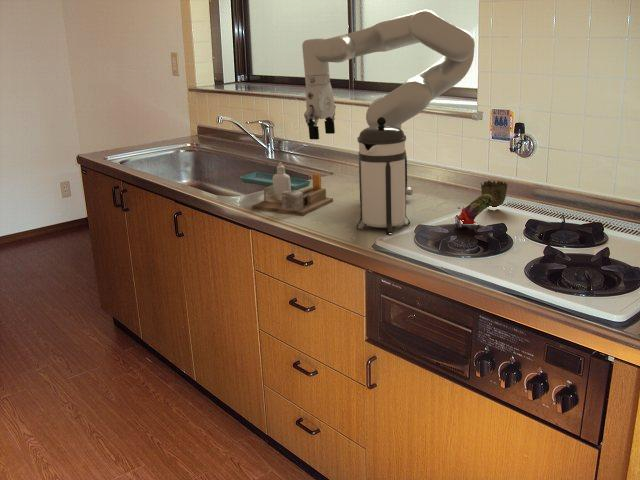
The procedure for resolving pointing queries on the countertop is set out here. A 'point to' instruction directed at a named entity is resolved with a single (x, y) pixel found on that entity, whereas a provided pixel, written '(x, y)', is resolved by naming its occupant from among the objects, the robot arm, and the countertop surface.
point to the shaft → (316, 186)
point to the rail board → (293, 201)
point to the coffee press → (382, 176)
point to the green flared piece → (495, 191)
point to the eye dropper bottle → (281, 181)
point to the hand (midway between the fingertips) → (322, 136)
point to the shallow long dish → (268, 180)
